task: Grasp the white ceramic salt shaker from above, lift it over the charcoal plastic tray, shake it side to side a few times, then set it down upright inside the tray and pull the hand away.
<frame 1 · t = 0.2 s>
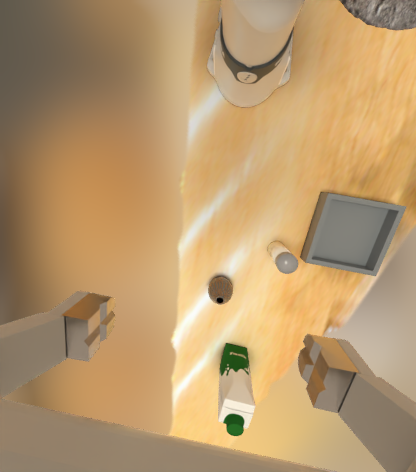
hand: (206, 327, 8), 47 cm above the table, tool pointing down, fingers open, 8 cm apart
vase: (220, 283, 60), on the table
milk carton: (234, 353, 66), on the table
tray: (343, 232, 53), on the table
shaker: (276, 248, 56), on the table
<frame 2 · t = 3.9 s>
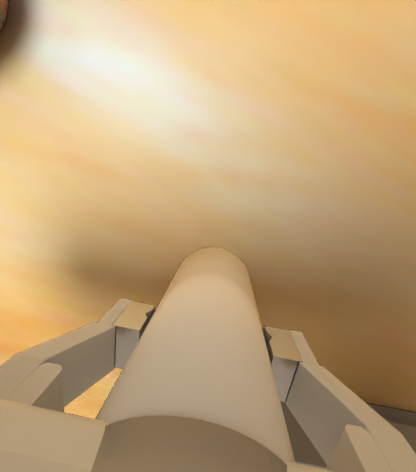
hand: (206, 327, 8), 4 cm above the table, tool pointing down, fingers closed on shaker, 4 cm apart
shaker: (212, 281, 12), on the table, touching gripper
when the fingers open (6 cm above the table, at t = 12.7 s): shaker stays where it is, resting on tray.
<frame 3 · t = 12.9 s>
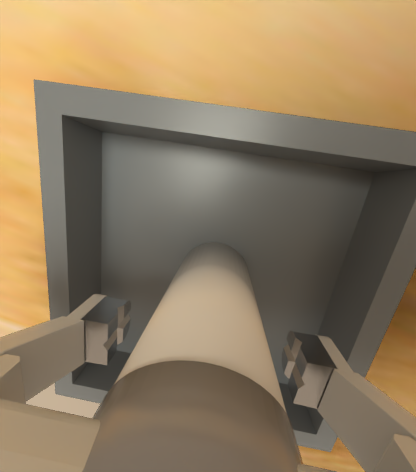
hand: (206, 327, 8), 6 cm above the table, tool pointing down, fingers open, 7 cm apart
tray: (214, 269, 14), on the table
shaker: (213, 274, 13), point 1 cm above the table, touching tray
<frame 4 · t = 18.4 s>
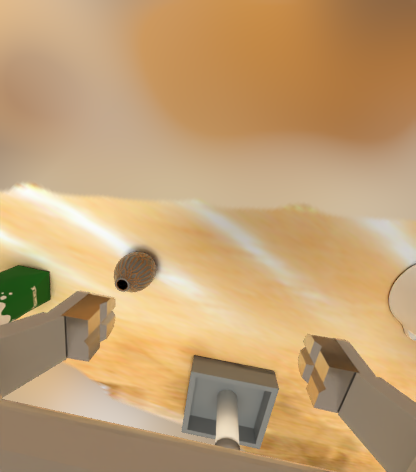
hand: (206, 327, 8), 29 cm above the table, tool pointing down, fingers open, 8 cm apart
vase: (144, 263, 41), on the table
milk carton: (35, 282, 44), on the table
tray: (226, 393, 47), on the table
shaker: (227, 397, 46), point 1 cm above the table, touching tray
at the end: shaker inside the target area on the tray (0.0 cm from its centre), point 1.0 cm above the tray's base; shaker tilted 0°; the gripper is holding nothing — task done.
